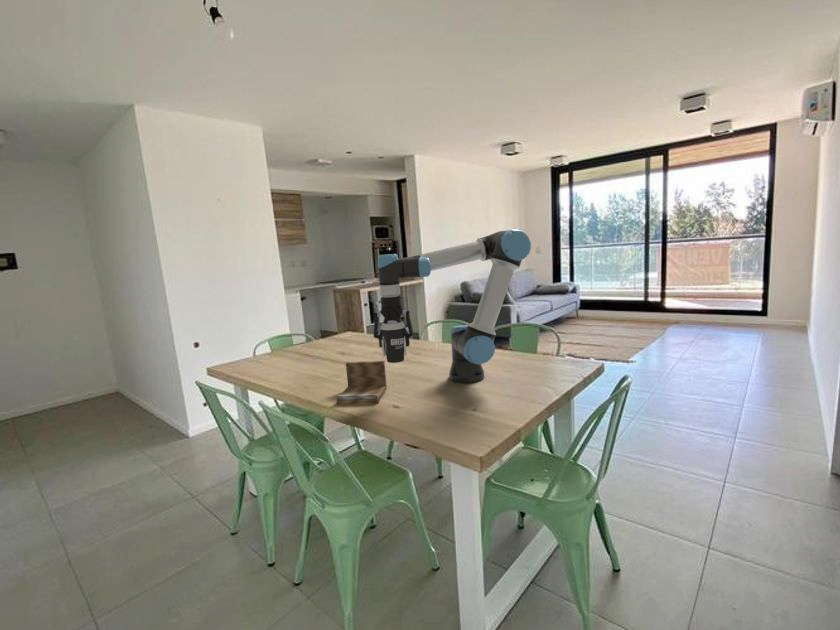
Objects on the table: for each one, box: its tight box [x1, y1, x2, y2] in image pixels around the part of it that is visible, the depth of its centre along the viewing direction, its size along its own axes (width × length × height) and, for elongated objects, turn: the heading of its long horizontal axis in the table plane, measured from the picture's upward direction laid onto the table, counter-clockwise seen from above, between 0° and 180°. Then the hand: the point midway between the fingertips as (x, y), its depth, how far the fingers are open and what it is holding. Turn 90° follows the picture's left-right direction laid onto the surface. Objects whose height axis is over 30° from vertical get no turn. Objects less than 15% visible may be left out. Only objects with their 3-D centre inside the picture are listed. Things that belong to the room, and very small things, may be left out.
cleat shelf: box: [335, 360, 388, 405], centre depth 168 cm, size 16×17×12 cm
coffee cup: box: [379, 320, 406, 364], centre depth 161 cm, size 10×10×15 cm
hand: (395, 354), depth 162 cm, fingers closed on coffee cup, 8 cm apart
